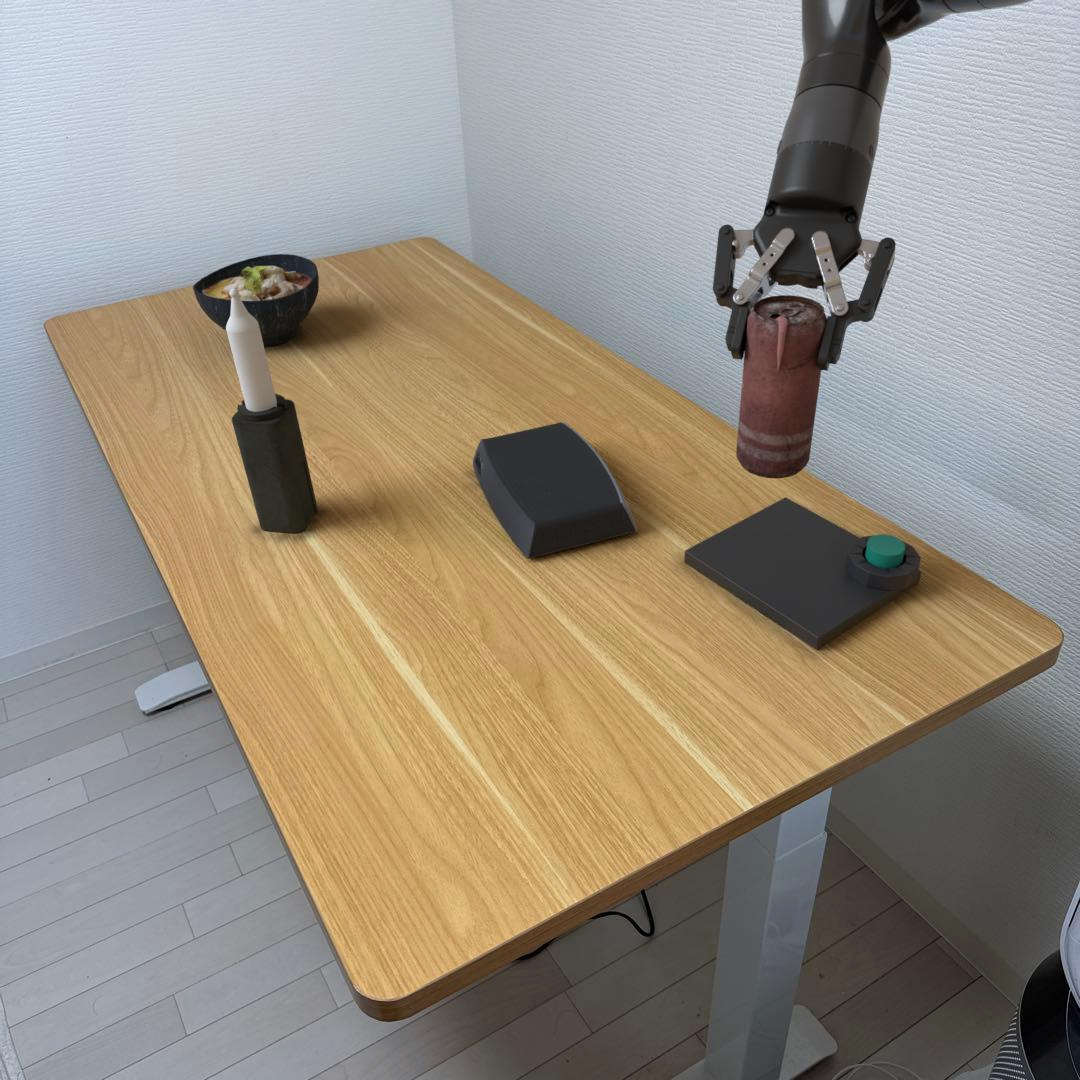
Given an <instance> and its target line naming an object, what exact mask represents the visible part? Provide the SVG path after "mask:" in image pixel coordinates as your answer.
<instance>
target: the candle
mask: <svg viewBox="0 0 1080 1080" xmlns="http://www.w3.org/2000/svg"><path fill="white" fill-rule="evenodd" d="M229 294H230V296H231V297H232V299H231V314H230V318H229V320H228V322H227V325H226V330H225V331H226V334H227V335H226V336H227V338H228V342H229V346H230V350H231V354H232V357H233V361H234V365H235V370H236V373H237V377H238V381H239V385H240V389H241V393H242V396H243V400H242V401H241V404H238V405H237V408H236V412H235V413H234V414H233V416H232V417H231V423H232V427H233V430H234V434H235V438H236V442H237V446H238V449H239V453H240V456H241V461H242V464H243V468H244V471H245V475H246V479H247V483H248V486H249V490H250V494H251V497H252V502H253V504H254V509H255V513H256V516H257V521H258V523H259V527H260V529H261V530H262V531H264V532H272V533H273V532H274V533H286V534H298V533H301V532H303V531H305V530H306V529H307V528H308V524H309V522H310V521H311V520H312V518H313V517H314V515H315V514H317V513H318V512H319V509H318V504H317V499H316V494H315V490H314V486H313V482H312V477H311V473H310V468H309V464H308V459H307V453H306V450H305V446H304V440H303V435H302V432H301V428H300V427H301V426H300V423H299V419H298V413H297V409H296V405H295V402H294V401H293V400H291V399H288V398H285V397H284V396H283V395H281V394H278V393H276V391H275V388H274V383H273V380H272V375H271V371H270V366H269V362H268V358H267V354H266V350H265V347H264V345H263V340H262V336H261V332H260V328H259V324H258V322H257V320H256V319H255V318H254V317H253V316H252V315H251V314H249V313H248V311H247V310H246V308H245V306H244V304H243V303H242V301H241V299H240V298H239V291H238V290H236V289H231V290H230V292H229Z"/></svg>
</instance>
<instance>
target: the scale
mask: <svg viewBox="0 0 1080 1080" xmlns="http://www.w3.org/2000/svg"><path fill="white" fill-rule="evenodd" d="M874 535H875V534H874ZM874 535H865V536H864V535H863V536H861V537H860V536H858V535H856V534H854V533H852V532H850V531H849V530H847V529H845V528H843V527H841V526H839V525H837V524H836V523H834V522H831V521H830V520H828V519H826V518H824V517H823V516H822V515H819V514H817V513H816V512H814V511H812V510H810V509H808V508H806V507H805V506H803V505H801V504H799V503H797V502H795V501H794V500H792V499H790V498H788V497H784V498H782V499H780V500H778V501H776V502H774V503H772V504H770V505H768V506H766V507H764V508H762V509H761V510H759V511H757V512H755V513H753V514H751V515H749V516H748V517H746V518H744V519H742V520H740V521H738V522H736V523H733V525H731V526H728V527H727V528H725V529H723V530H721V531H719V532H717V533H716V534H714V535H712V536H710V537H708V538H706V539H704V540H702V541H701V542H698V543H697V544H695V545H693V546H691V547H690V548H687V549H685V550H684V556H683V557H684V558H683V559H684V560H683V562H684V564H686V565H688V566H689V567H691V568H692V569H694V570H695V571H696V572H698V573H700V574H701V575H702V576H704V577H706V578H707V579H708V580H710V581H712V582H713V583H715V584H716V585H718V586H719V587H721V589H724V590H725V591H727V592H728V593H730V594H731V595H733V597H736V598H737V599H739V600H740V601H742V602H743V603H745V604H747V605H748V606H749V607H751V608H753V609H754V610H755V611H757V612H758V613H760V614H761V615H763V616H764V617H766V618H768V619H769V620H771V621H772V622H774V623H775V624H776V625H778V626H780V627H781V628H782V629H784V630H786V631H787V632H789V633H790V634H792V635H793V636H795V637H796V638H798V639H799V640H801V641H802V642H803V643H805V644H807V645H809V646H810V647H811V648H813V649H814V650H816V651H818V650H819V649H821V648H822V647H824V646H825V645H827V644H828V643H830V642H831V641H833V640H834V639H836V638H837V637H840V635H842V634H843V633H845V632H847V631H848V630H850V629H852V627H854V626H856V625H857V624H859V623H861V622H862V621H864V620H865V619H866V618H868V617H870V616H871V615H872V614H874V613H876V612H877V611H879V610H880V609H882V608H884V607H885V606H886V605H888V604H889V603H891V602H892V601H894V600H896V599H897V598H899V597H900V596H902V595H903V594H905V593H906V592H908V591H909V590H911V589H912V588H915V586H918V584H920V580H921V576H922V573H923V571H922V570H920V565H921V561H922V557H921V556H920V554H919V553H918V551H917V550H916V549H915V547H914V546H913V545H911V544H909V543H908V542H905V541H903V543H904V544H905V552H904V556H903V561H902V564H901V565H900V566H898V567H896V568H888V569H887V568H882V567H877V566H874V565H873V564H871V563H869V562H868V561H867V560H866V558H865V553H866V548H867V542H868V540H869V538H871V537H872V536H874Z"/></svg>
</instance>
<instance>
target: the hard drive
mask: <svg viewBox="0 0 1080 1080" xmlns="http://www.w3.org/2000/svg"><path fill="white" fill-rule="evenodd" d="M472 466H473V471H474V473H475V477H476V480H477V481H478V484H479V486H480V489H481V491H482V493H483V495H484V498H485V499H486V501H487V503H488V505H489V507H490V509H491V510H492V512H493V514H494V516H495V517H496V519H497V521H498V522H499V523H500V526H501V527H502V528H503V530H504V531H505V534H507V535H508V537H509V539H510V540H511V541H512V542H513V544H514V545H515V547H516V548H518V550H519V551H520V553H522V555H523V556H524V557H525V558H526V559H534V558H537V557H540V556H541V557H542V556H545V555H549V554H554V553H558V552H561V551H565V550H569V549H573V548H577V547H581V546H585V545H589V544H593V543H599V542H601V541H605V540H609V539H613V538H617V537H622V536H626V535H629V534H634V533H637V532H638V531H639V528H638V526H637V523H636V520H635V518H634V515H633V514H632V511H631V508H630V506H629V504H628V502H627V500H626V498H625V496H624V493H623V492H622V490H621V488H620V485H619V484H618V482H617V480H616V478H615V476H614V475H613V473H612V471H611V470H610V468H609V467H608V465H607V464H606V462H605V460H604V459H603V457H602V456H601V455H600V454H599V452H598V451H596V449H595V448H594V447H593V445H591V444H590V443H589V442H588V441H587V440H586V439H585V437H583V436H582V435H581V434H580V433H579V432H578V431H577V430H576V429H574V428H573V427H572V426H570V425H569V424H567V423H566V422H564V421H561V422H556V423H551V424H547V425H542V426H539V427H534V428H529V429H525V430H520V431H516V432H511V433H506V434H502V435H497V436H493V437H488V438H482V439H480V441H479V443H478V445H477V447H476V450H475V453H474V455H473V459H472Z"/></svg>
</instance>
